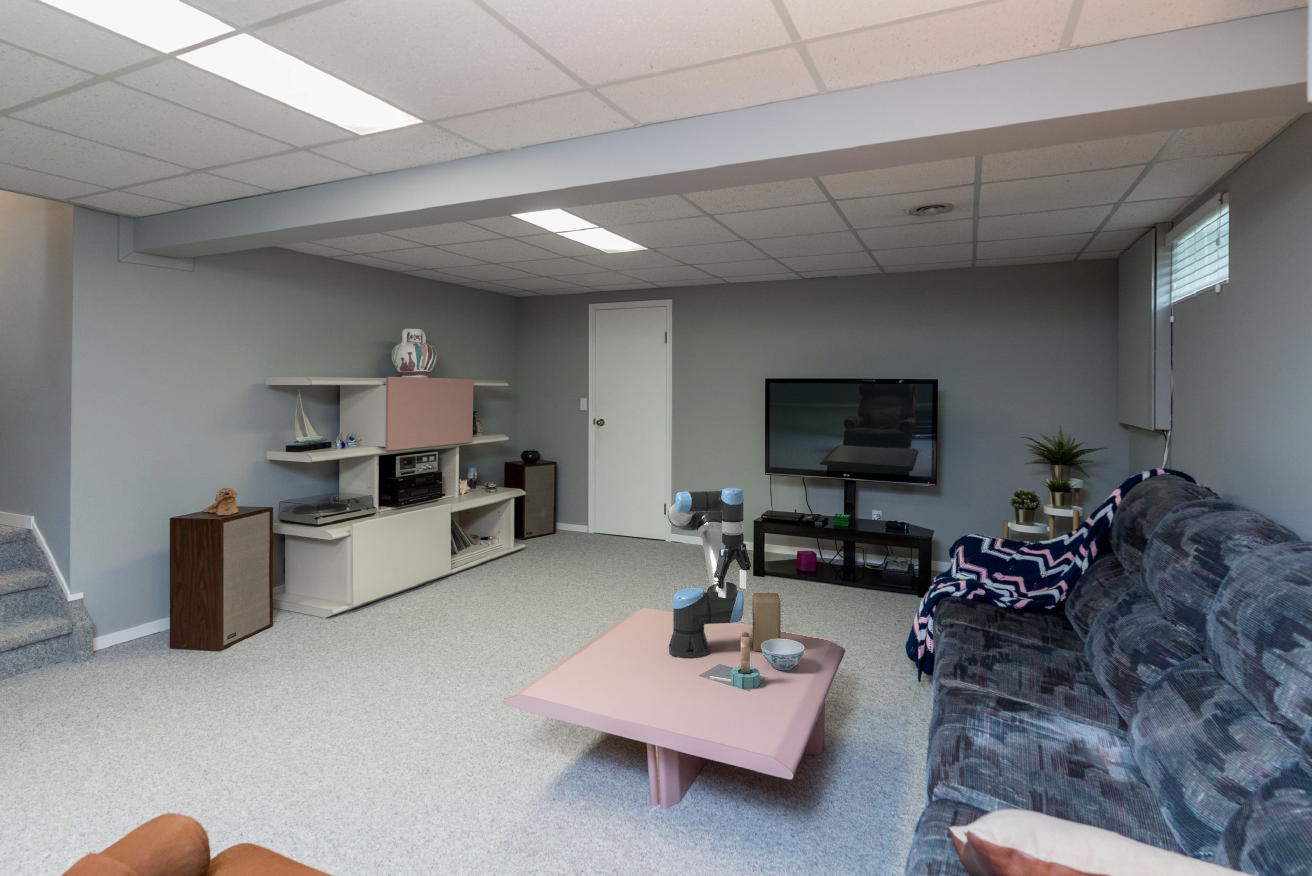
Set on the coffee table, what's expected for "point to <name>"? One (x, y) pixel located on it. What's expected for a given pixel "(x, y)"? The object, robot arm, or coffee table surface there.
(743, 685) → the bead
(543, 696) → the coffee table surface
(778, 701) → the coffee table surface
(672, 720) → the coffee table surface
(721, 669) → the mat
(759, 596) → the wooden block
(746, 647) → the wooden rod
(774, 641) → the chinaware
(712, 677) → the white stick
